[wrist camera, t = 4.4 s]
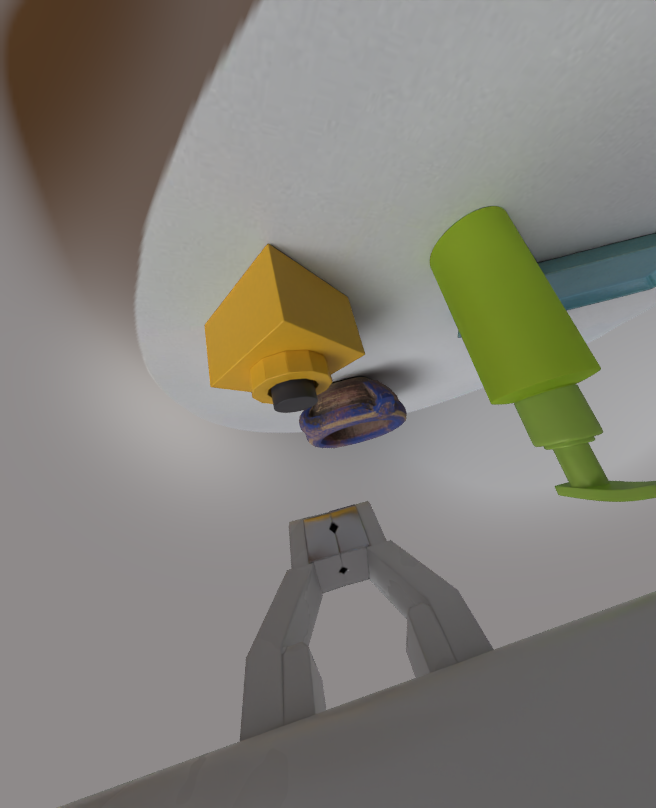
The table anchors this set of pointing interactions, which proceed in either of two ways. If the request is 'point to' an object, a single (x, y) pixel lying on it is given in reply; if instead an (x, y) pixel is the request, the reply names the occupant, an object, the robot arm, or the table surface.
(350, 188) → the table surface
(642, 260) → the rectangular tray
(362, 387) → the bowl
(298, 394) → the black cylinder
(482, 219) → the soap dispenser
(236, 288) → the yellow push button box
